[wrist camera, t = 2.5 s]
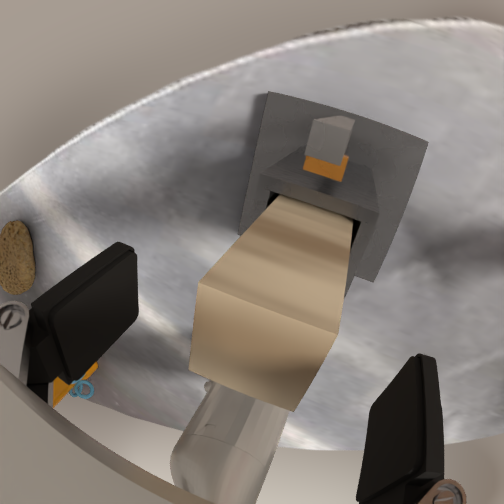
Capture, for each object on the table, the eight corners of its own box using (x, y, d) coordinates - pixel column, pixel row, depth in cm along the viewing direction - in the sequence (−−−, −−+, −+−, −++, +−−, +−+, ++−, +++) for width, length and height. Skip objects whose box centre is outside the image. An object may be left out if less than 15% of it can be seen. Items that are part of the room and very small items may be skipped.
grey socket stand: (373, 274, 30) (365, 431, 14) (242, 229, 32) (136, 341, 17) (425, 140, 23) (519, 194, 7) (273, 92, 25) (147, 78, 10)
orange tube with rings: (90, 376, 62) (52, 417, 49) (63, 341, 59) (21, 381, 47) (116, 375, 56) (74, 425, 43) (86, 335, 54) (36, 382, 41)
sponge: (32, 288, 58) (50, 282, 46) (4, 300, 52) (13, 298, 40) (15, 234, 56) (29, 210, 44) (-13, 244, 50) (-9, 222, 38)
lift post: (342, 219, 27) (294, 413, 10) (298, 204, 28) (187, 370, 11) (357, 175, 25) (340, 333, 8) (310, 160, 25) (196, 280, 9)
